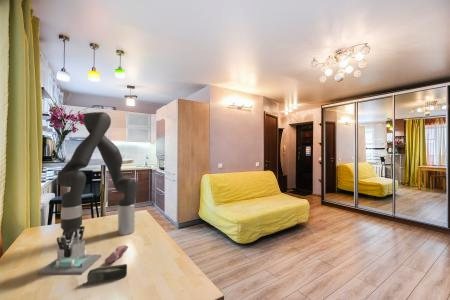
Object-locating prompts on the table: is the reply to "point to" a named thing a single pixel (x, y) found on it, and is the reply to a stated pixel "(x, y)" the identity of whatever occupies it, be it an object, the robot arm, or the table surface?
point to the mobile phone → (106, 273)
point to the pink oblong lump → (116, 254)
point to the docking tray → (70, 265)
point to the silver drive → (73, 250)
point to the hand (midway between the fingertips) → (71, 254)
